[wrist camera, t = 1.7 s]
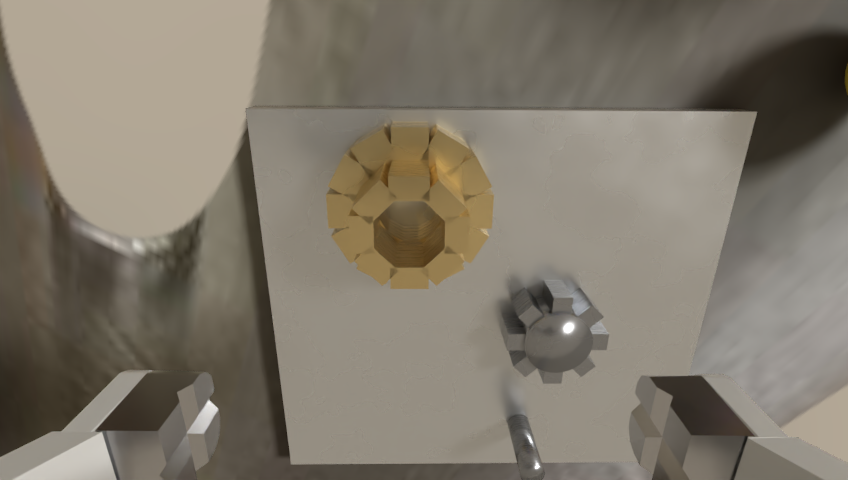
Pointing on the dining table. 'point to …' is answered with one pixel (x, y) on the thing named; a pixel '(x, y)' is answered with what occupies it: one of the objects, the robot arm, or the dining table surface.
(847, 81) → the lemon
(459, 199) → the gear
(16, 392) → the dining table surface
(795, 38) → the dining table surface
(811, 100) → the dining table surface
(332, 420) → the plate
